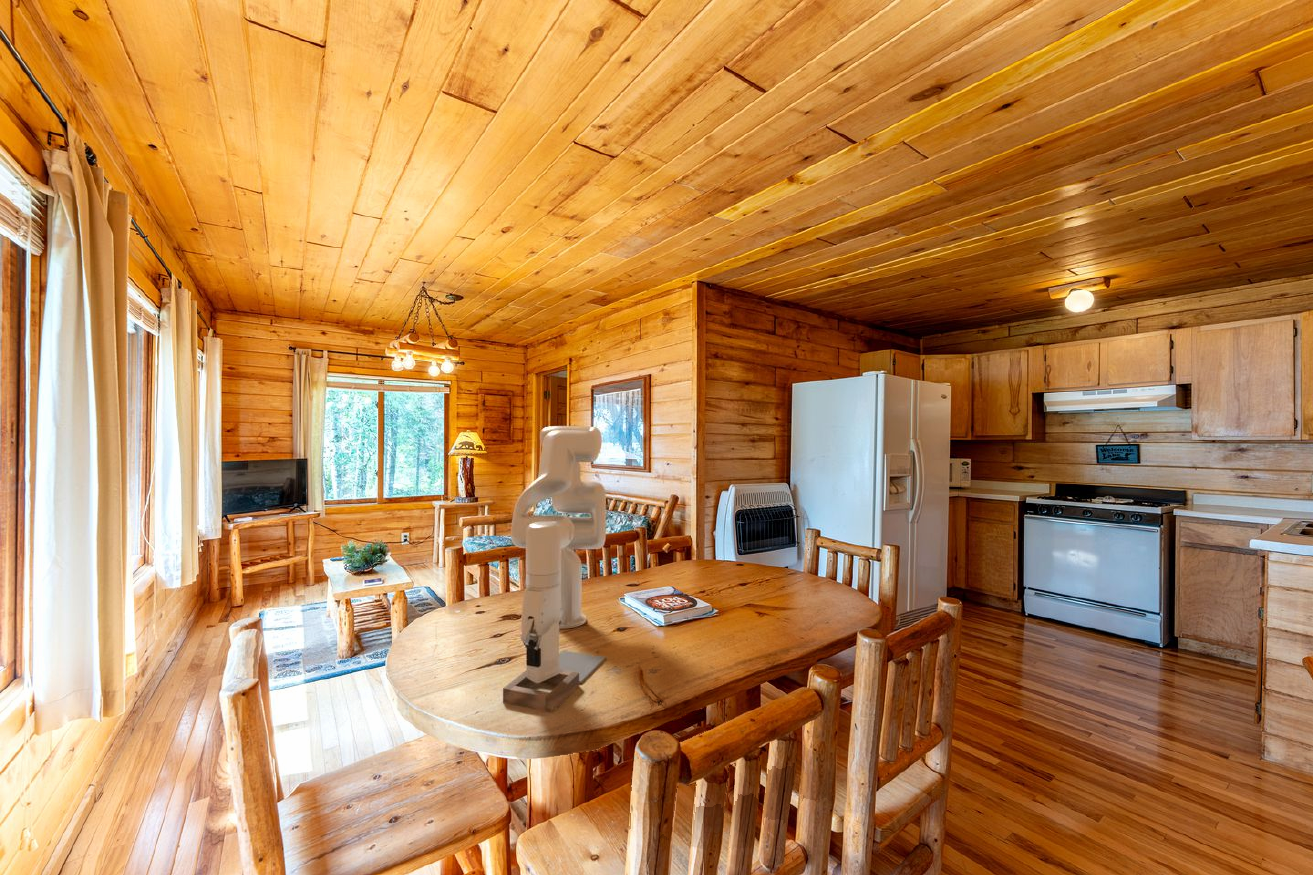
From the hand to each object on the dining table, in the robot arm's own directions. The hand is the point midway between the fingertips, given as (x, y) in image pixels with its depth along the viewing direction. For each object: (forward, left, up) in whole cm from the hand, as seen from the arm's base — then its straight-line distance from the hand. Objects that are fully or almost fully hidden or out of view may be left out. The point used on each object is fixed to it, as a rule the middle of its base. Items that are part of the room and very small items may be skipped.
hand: (542, 657), depth 120 cm
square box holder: (0, 0, -8) cm, 8 cm away
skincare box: (0, 0, -5) cm, 5 cm away
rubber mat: (0, +14, -8) cm, 16 cm away
